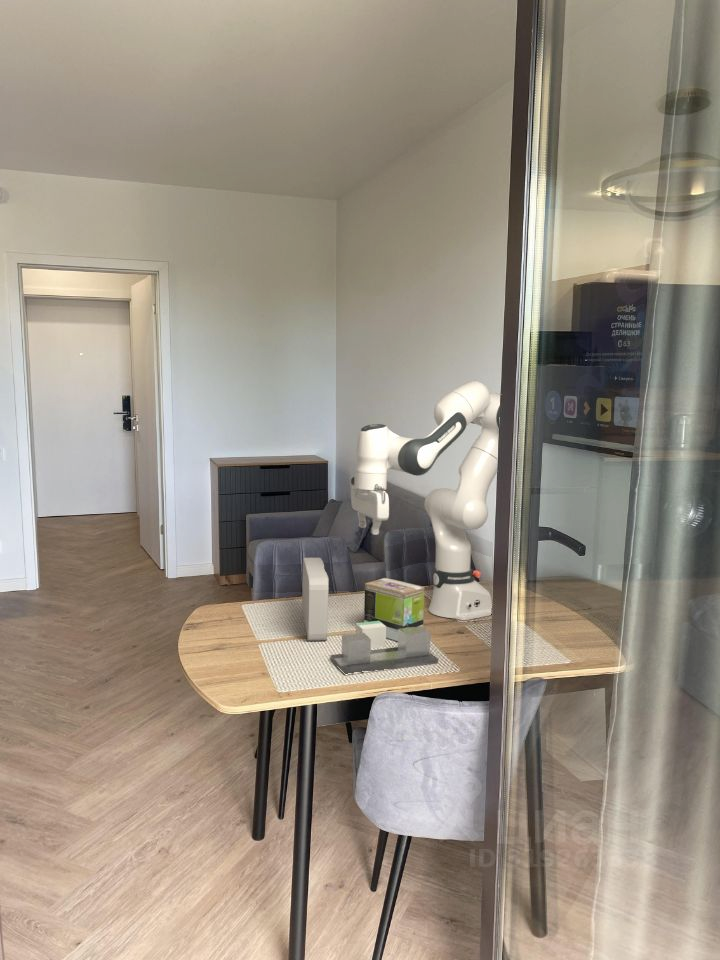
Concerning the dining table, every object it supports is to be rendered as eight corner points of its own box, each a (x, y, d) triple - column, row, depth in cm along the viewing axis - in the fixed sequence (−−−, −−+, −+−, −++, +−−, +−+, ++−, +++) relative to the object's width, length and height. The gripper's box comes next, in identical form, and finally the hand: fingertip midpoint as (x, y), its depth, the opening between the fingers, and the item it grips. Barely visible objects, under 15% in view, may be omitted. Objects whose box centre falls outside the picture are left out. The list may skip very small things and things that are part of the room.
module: (378, 641, 208) (379, 620, 207) (385, 647, 203) (386, 625, 202) (355, 643, 205) (355, 622, 204) (361, 650, 201) (362, 628, 200)
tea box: (424, 635, 213) (426, 586, 211) (402, 644, 206) (404, 593, 204) (384, 623, 223) (385, 576, 221) (362, 631, 216) (363, 582, 214)
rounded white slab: (335, 642, 206) (336, 580, 203) (308, 643, 205) (309, 580, 202) (326, 610, 234) (327, 555, 231) (302, 611, 233) (302, 555, 230)
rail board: (419, 648, 203) (420, 622, 202) (438, 663, 192) (439, 635, 191) (330, 659, 193) (330, 632, 192) (344, 675, 183) (345, 646, 182)
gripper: (396, 487, 198) (393, 538, 199) (368, 477, 216) (366, 523, 218) (374, 487, 195) (371, 538, 197) (348, 477, 214) (346, 524, 216)
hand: (368, 530), depth 208 cm, fingers open, 8 cm apart
